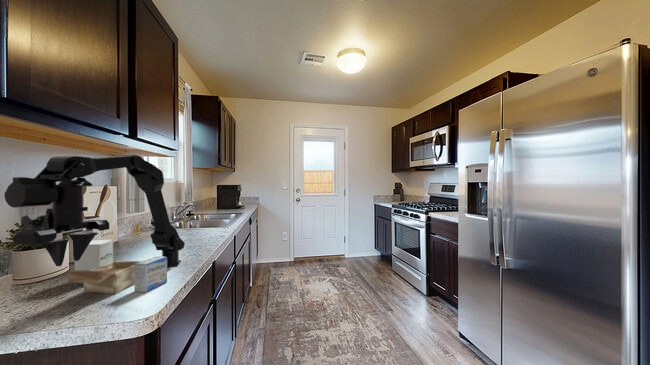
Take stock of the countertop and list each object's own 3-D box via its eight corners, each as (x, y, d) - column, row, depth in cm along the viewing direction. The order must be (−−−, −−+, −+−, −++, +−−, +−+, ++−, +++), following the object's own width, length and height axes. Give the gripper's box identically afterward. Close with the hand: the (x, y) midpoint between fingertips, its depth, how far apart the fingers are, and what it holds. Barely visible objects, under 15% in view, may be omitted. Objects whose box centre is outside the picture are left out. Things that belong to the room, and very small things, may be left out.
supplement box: (99, 282, 83) (99, 244, 83) (73, 283, 82) (73, 245, 82) (114, 273, 90) (114, 239, 90) (90, 275, 89) (90, 239, 89)
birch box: (115, 279, 85) (115, 261, 85) (144, 279, 85) (144, 261, 85) (83, 293, 74) (83, 272, 74) (116, 293, 74) (116, 273, 74)
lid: (100, 270, 79) (100, 260, 79) (127, 270, 79) (127, 260, 79) (68, 282, 69) (68, 271, 69) (98, 283, 69) (98, 272, 69)
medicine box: (146, 292, 75) (146, 264, 75) (133, 291, 76) (133, 263, 76) (167, 282, 83) (167, 256, 83) (156, 281, 83) (156, 255, 83)
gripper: (74, 201, 75) (74, 253, 75) (-11, 207, 56) (-11, 276, 56) (111, 201, 74) (111, 253, 74) (37, 207, 56) (37, 276, 56)
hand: (68, 263), depth 65 cm, fingers open, 4 cm apart
